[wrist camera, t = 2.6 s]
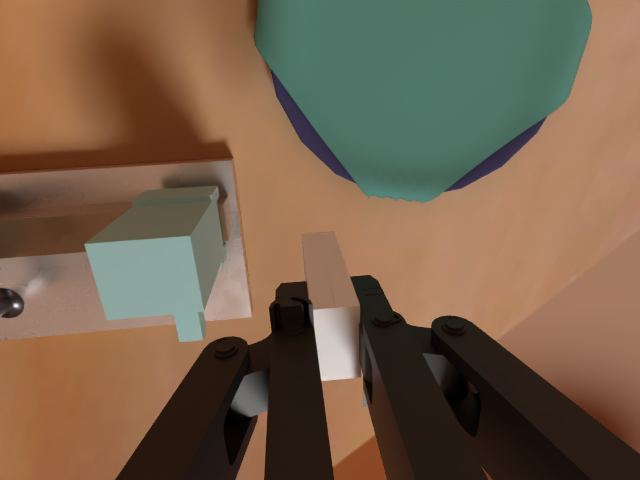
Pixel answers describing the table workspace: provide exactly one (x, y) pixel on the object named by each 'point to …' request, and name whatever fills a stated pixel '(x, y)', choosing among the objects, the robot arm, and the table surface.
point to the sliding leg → (161, 258)
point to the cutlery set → (420, 83)
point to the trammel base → (73, 271)
